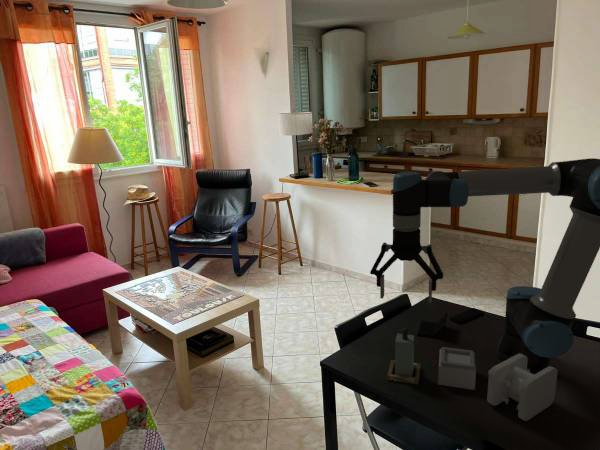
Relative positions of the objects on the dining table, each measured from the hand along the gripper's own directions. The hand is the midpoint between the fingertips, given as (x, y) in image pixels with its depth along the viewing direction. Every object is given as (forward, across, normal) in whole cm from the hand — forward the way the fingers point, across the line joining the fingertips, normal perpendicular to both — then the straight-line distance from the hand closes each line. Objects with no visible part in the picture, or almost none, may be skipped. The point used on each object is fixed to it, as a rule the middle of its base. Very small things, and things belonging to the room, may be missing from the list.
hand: (405, 298), depth 130 cm
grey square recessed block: (+25, -15, -2) cm, 29 cm away
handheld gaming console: (+25, -7, -30) cm, 40 cm away
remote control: (+26, -19, -44) cm, 54 cm away
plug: (+25, 0, 0) cm, 25 cm away
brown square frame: (+25, 0, 0) cm, 25 cm away
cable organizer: (+25, -31, +7) cm, 40 cm away
